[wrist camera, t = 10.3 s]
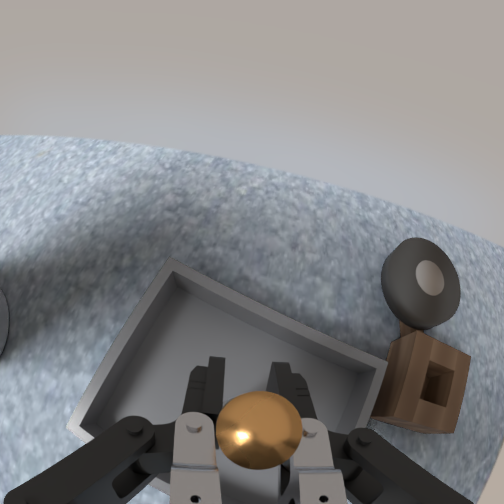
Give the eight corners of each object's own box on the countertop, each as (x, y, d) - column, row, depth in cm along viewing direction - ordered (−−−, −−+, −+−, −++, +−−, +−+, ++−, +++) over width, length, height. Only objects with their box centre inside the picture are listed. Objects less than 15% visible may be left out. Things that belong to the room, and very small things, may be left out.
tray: (86, 425, 16) (65, 427, 13) (175, 277, 23) (169, 256, 20) (292, 523, 14) (305, 540, 11) (365, 369, 21) (388, 361, 18)
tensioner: (327, 402, 20) (353, 401, 16) (377, 248, 27) (400, 221, 23) (424, 433, 19) (459, 433, 14) (453, 291, 26) (481, 272, 22)
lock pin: (209, 422, 15) (201, 448, 6) (227, 389, 16) (240, 377, 8) (245, 439, 15) (280, 480, 6) (262, 406, 16) (315, 409, 7)
